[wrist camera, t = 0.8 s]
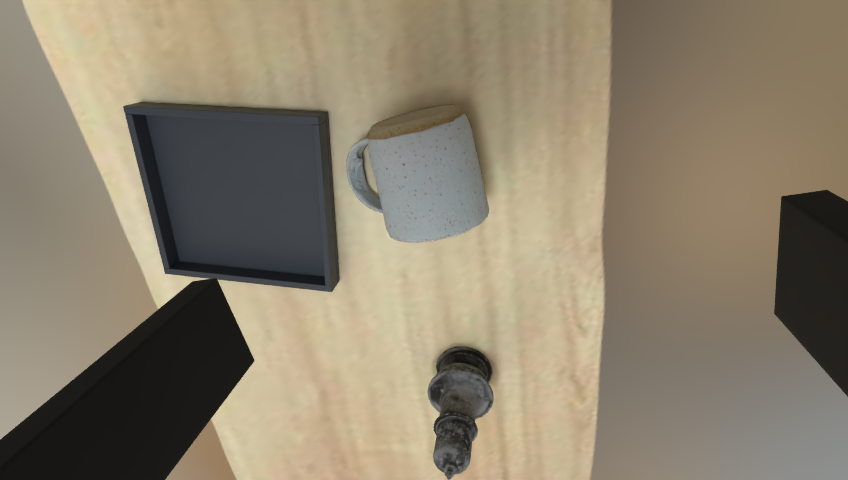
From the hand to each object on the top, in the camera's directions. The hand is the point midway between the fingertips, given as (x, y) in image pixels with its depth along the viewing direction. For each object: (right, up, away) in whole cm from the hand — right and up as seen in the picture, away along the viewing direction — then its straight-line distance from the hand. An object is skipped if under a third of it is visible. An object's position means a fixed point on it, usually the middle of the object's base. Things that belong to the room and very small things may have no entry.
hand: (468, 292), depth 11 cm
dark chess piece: (+3, -11, +34) cm, 36 cm away
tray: (-17, +5, +30) cm, 34 cm away
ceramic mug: (-1, +7, +26) cm, 27 cm away
